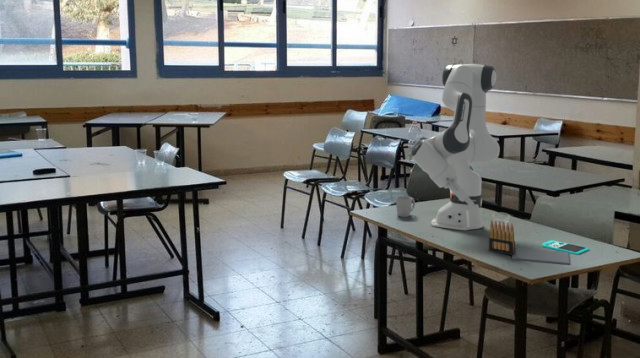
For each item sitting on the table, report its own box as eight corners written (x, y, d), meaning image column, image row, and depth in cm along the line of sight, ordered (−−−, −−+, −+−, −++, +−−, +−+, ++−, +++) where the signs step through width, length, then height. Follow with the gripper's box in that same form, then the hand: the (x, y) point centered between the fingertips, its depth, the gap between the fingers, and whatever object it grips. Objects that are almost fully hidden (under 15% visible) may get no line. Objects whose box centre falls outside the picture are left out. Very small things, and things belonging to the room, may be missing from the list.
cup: (392, 215, 316) (392, 197, 315) (408, 212, 321) (409, 195, 320) (402, 218, 310) (402, 200, 308) (419, 215, 315) (419, 197, 313)
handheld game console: (551, 242, 273) (551, 239, 273) (589, 251, 262) (590, 247, 262) (538, 247, 267) (539, 244, 266) (577, 256, 255) (577, 252, 255)
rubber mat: (512, 259, 249) (512, 257, 249) (513, 249, 262) (513, 247, 262) (569, 264, 243) (569, 263, 243) (568, 253, 256) (568, 252, 256)
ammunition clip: (488, 250, 260) (488, 220, 258) (491, 249, 261) (491, 219, 259) (513, 255, 252) (512, 223, 250) (515, 254, 254) (515, 222, 252)
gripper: (456, 175, 242) (482, 202, 243) (447, 166, 262) (471, 191, 264) (443, 187, 243) (469, 214, 244) (435, 177, 263) (459, 202, 264)
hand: (470, 202), depth 254 cm, fingers open, 8 cm apart
